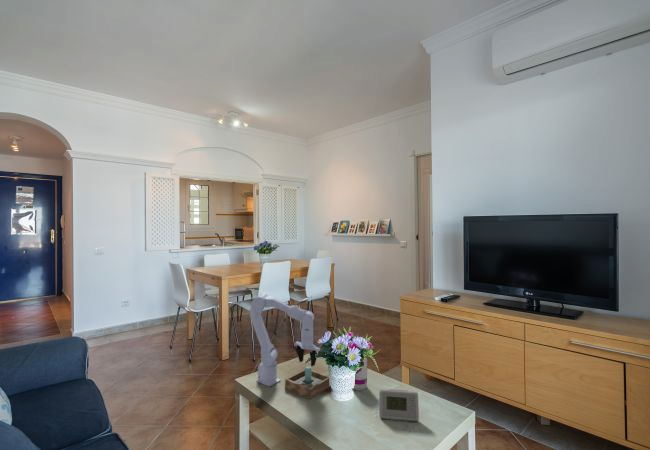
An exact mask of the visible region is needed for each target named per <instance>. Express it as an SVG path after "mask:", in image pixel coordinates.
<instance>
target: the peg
mask: <svg viewBox="0 0 650 450" xmlns="http://www.w3.org/2000/svg"><path fill="white" fill-rule="evenodd" d="M304 369H305V383H307V384H310V383H311V372H312V370H313V369H312V366H305V367H304Z"/></svg>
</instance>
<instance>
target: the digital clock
mask: <svg viewBox="0 0 650 450" xmlns="http://www.w3.org/2000/svg"><path fill="white" fill-rule="evenodd" d="M378 399H379V403H378V404H379V407H378V408H379V413H378V414H379V418H380V419H386V420H388V419H392V420H391V421H400V420H404V421H403V422H418V421H419V418H420V415H419V414H420V411H419V393H418V392H417V391H413V390H412V391H410V390H405V389H404V390H403V389H391V388H390V389H384V388H382V389H380V390H379V398H378Z"/></svg>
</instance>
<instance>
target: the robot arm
mask: <svg viewBox="0 0 650 450" xmlns="http://www.w3.org/2000/svg"><path fill="white" fill-rule="evenodd" d="M271 307H272V308H275V309H277V310H280V311H282V312H286V314H287V316H288V317H291V318H292V319H294V320H295V321H296V320H297V321H298V322H300V323H301V326H302V327H301V341H296V342H295V343H294V346H295V348H294V350H295V352H296V354H297V357H298V360H299V361H298V362H299V363H302V362H304V356H305V350H309V351H311V352H308V353H309V357H310V365H311V366H310V367H314V366H316V365H315V364H316V362H317V359H318V357H317V358H315V354H317V352H318V351H320V352H321V348H320V347H318V346H316V345H315V344H314V320H315V315H314V313H313V312H312V311H311V310H306V309H302V308H300V307H299V306H298V305H297V304H293V305H288V304H287V303H284V302H282V301H281V300H279V299H277V298H276V297H273V296H272V295H270V294H269V295H268V294H267V293H264V292H263V293H260V294H259V295H258V296H256V297H255V298H254V299H253V300H252V302H251V303H250V310H249V316H250V320H251V322H252V325H253V328H254V331H255V335H256V337H257V341H258V343H259V346H260V356H261V358H260V361H261V362H260V363H259V364H258V366H257V379H256V381H257V383H261V384H263V385H264V386H266V387H271V386H273V385H275V384H276V383H278V382H280V381H281V379H279V378H277V377H278V376H277V375H278V372H277V371H278V366H277V365H278V362H277V358H278V356H279V351H278V350H277V349H276V348H275V345H274V344H273V343H271V340H270V337H269V333H268V331H267V328H266V325H265V322H264V319H263V316H262V313H263V310H264V309H267V308H271Z"/></svg>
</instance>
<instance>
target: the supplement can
mask: <svg viewBox="0 0 650 450" xmlns="http://www.w3.org/2000/svg"><path fill="white" fill-rule="evenodd" d="M363 362H364V366H363V367H362V368H360V369H359V370H357V372H356V374H355V386H354V389H355V390H354V389H353V390H354V391H365V389H367V387H368V385H367V384H368V359H367V357H366V358H364V360H363Z"/></svg>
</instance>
